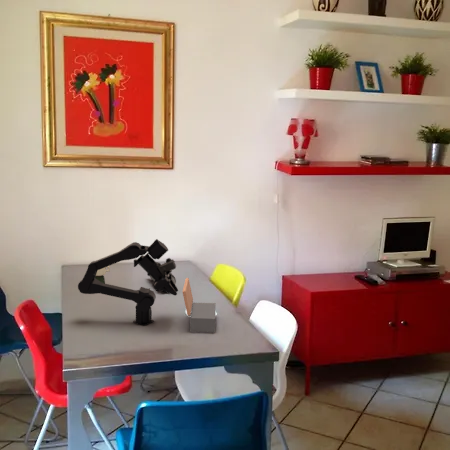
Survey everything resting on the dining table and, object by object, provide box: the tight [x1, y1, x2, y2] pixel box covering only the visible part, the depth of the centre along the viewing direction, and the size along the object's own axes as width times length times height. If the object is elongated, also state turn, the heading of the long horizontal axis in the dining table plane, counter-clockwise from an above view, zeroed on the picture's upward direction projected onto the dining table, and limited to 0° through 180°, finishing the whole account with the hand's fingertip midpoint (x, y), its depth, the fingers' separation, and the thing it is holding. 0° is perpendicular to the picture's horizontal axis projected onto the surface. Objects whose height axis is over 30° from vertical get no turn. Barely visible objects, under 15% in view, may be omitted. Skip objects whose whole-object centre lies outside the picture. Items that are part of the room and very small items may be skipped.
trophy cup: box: [95, 265, 111, 284], centre depth 272 cm, size 11×7×13 cm, turn 102°
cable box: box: [189, 302, 217, 334], centre depth 228 cm, size 10×29×6 cm, turn 0°
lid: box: [182, 277, 194, 317], centre depth 222 cm, size 11×20×1 cm
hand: (177, 292), depth 222 cm, fingers open, 5 cm apart
